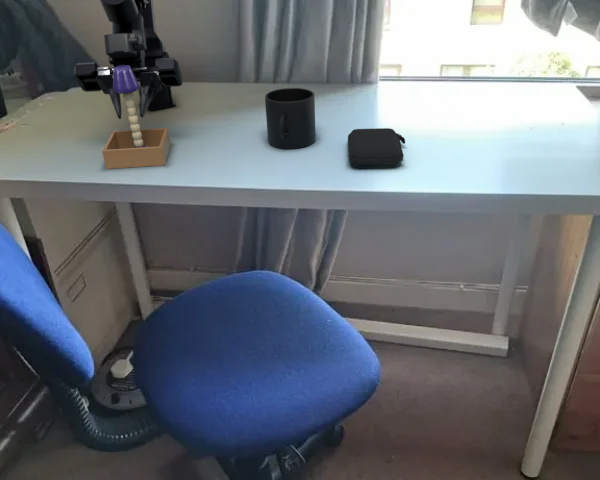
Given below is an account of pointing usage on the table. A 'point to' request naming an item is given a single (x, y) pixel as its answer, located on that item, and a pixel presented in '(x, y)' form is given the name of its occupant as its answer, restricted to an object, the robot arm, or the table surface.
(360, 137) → the carrying case
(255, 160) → the table surface
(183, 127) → the table surface
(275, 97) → the mug
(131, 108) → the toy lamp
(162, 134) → the box
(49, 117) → the table surface
